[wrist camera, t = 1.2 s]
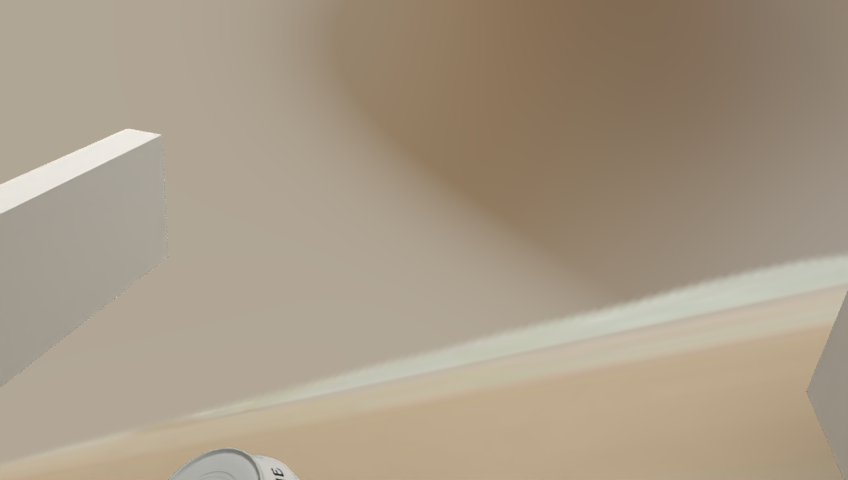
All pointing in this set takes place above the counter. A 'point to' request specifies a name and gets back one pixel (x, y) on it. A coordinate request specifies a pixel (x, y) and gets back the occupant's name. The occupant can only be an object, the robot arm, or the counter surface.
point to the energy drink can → (233, 467)
